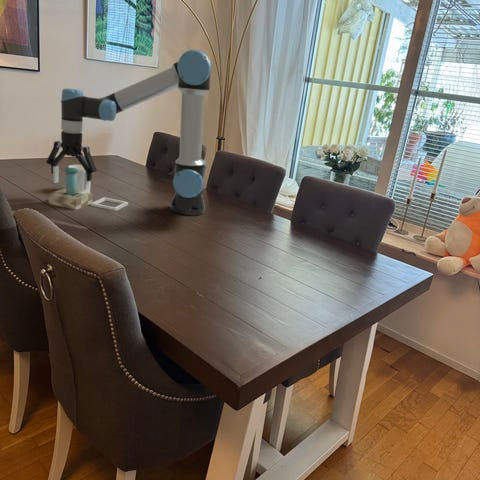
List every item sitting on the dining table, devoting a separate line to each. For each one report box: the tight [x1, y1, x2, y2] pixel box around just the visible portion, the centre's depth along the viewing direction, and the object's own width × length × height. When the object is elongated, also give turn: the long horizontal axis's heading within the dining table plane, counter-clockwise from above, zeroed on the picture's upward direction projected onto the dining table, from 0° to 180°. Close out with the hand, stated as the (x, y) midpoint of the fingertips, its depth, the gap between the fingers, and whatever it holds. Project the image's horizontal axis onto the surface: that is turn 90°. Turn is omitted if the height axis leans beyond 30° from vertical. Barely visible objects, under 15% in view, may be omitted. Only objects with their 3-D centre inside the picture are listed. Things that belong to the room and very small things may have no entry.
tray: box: [90, 196, 129, 212], centre depth 185 cm, size 11×11×2 cm
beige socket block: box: [47, 187, 94, 211], centre depth 179 cm, size 12×12×5 cm
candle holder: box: [67, 164, 92, 193], centre depth 194 cm, size 10×10×12 cm
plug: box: [64, 167, 78, 196], centre depth 177 cm, size 5×5×14 cm
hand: (71, 185), depth 177 cm, fingers open, 13 cm apart
